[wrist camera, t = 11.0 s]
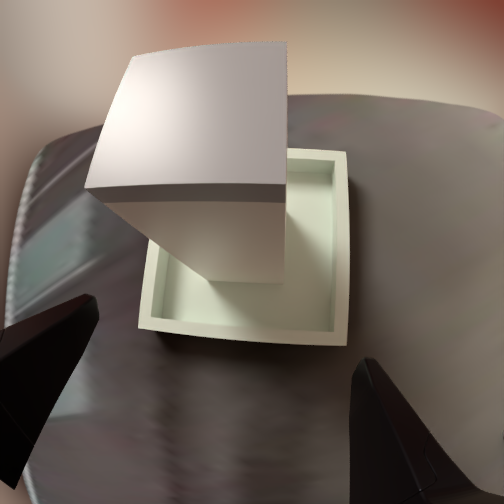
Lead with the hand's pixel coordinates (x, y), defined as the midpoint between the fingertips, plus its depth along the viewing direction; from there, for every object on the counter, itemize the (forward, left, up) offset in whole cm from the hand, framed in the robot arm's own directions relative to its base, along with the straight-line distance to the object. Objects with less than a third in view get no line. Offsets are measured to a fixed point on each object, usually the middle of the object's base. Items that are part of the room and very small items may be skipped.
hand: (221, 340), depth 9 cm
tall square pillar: (+6, +2, -10) cm, 12 cm away
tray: (+6, +2, -11) cm, 12 cm away
